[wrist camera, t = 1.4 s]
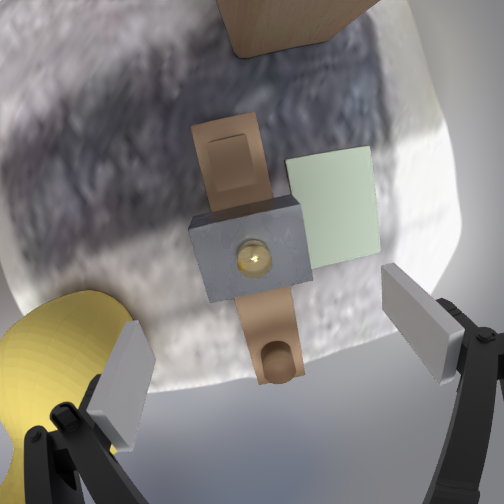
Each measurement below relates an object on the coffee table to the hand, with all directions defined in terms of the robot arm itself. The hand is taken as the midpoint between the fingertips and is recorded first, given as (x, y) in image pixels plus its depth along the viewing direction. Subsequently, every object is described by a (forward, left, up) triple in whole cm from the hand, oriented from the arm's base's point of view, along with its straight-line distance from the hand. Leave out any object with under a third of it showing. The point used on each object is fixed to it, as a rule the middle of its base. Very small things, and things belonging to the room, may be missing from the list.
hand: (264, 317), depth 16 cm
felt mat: (+1, +10, -18) cm, 20 cm away
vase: (+9, -21, -18) cm, 29 cm away
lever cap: (0, 0, -11) cm, 11 cm away
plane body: (+3, 0, -18) cm, 18 cm away
